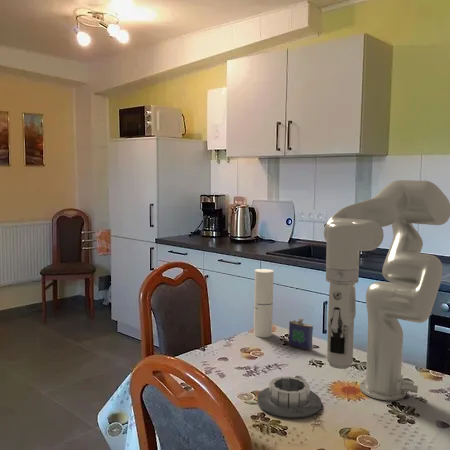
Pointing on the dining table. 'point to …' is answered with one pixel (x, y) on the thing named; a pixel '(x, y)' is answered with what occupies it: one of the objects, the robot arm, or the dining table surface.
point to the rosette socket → (289, 399)
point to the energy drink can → (347, 358)
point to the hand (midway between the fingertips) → (340, 347)
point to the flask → (300, 335)
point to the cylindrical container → (263, 302)
